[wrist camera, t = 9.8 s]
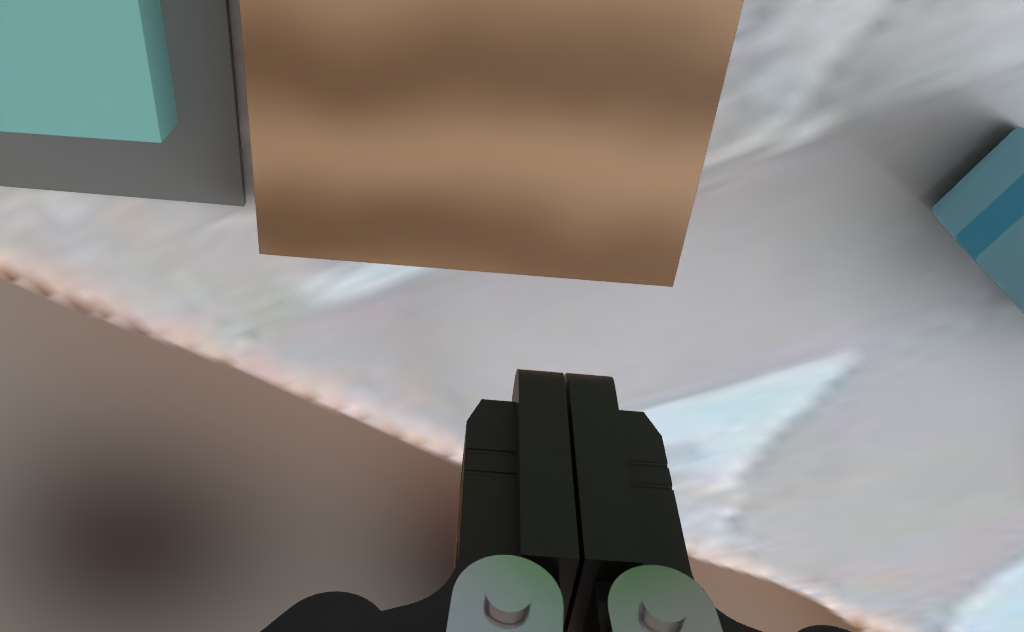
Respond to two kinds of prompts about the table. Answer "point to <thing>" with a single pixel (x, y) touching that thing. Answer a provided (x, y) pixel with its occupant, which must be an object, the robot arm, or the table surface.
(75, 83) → the teal flat block
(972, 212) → the data package
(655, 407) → the table surface
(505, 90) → the wooden block
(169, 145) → the mat
